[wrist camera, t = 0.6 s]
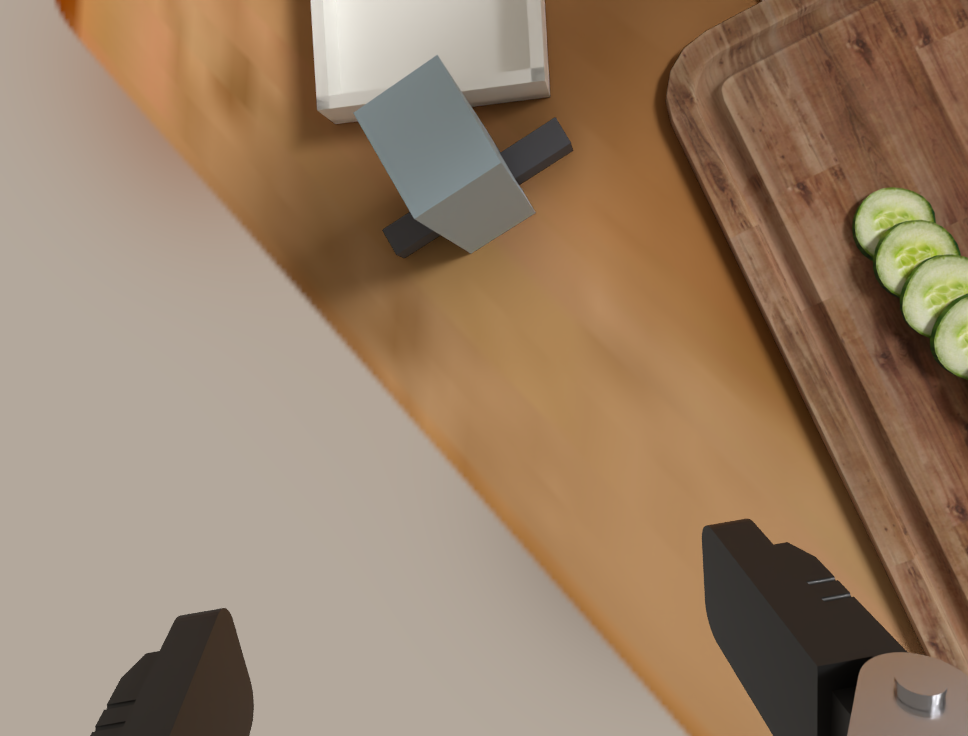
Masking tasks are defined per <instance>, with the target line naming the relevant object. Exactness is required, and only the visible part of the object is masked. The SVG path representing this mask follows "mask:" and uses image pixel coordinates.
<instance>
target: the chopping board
mask: <svg viewBox="0 0 968 736" xmlns="http://www.w3.org/2000/svg"><path fill="white" fill-rule="evenodd" d="M760 1H761V2H760V3H758V4H756V5H754V6H752V7H750V8H748V9H747V10H745V11H743V12H741V13H739V14H737V15H735V16H733V17H731V18H730V19H728V20H726V21H724V22H722V23H720V24H718V25H716V26H714V27H713V28H711V29H709V30H707V31H705V32H704V33H703V34H701V35H700V36H699V37H697V38H696V39H695V40H694V41H692V42H691V43H690V44H689V45H687V46H686V47H685V48H684V49H683V51H682V52H681V54H680V55H679V57H678V59H677V60H676V62H675V64H674V65H673V67H672V69H671V70H670V75H669V81H668V87H667V93H666V100H665V101H666V106H667V110H668V114H669V118H670V122H671V125H672V128H673V130H674V132H675V134H676V136H677V138H678V140H679V142H680V144H681V146H682V148H683V150H684V153H685V155H686V157H687V159H688V161H689V163H690V165H691V167H692V169H693V171H694V173H695V175H696V177H697V180H698V182H699V184H700V186H701V188H702V190H703V192H704V194H705V196H706V198H707V200H708V202H709V205H710V207H711V209H712V211H713V213H714V215H715V217H716V219H717V221H718V223H719V225H720V227H721V229H722V232H723V234H724V236H725V238H726V240H727V242H728V244H729V246H730V248H731V250H732V252H733V254H734V257H735V259H736V261H737V263H738V265H739V267H740V269H741V271H742V273H743V275H744V277H745V279H746V282H747V284H748V286H749V288H750V290H751V292H752V294H753V296H754V298H755V300H756V302H757V304H758V306H759V309H760V311H761V313H762V315H763V317H764V319H765V321H766V323H767V325H768V327H769V329H770V331H771V334H772V336H773V338H774V340H775V342H776V344H777V346H778V348H779V350H780V352H781V354H782V356H783V359H784V361H785V363H786V365H787V367H788V369H789V371H790V373H791V375H792V377H793V379H794V381H795V383H796V386H797V388H798V390H799V392H800V394H801V396H802V398H803V400H804V402H805V404H806V406H807V408H808V411H809V413H810V415H811V417H812V419H813V421H814V423H815V425H816V427H817V429H818V431H819V433H820V435H821V438H822V440H823V442H824V444H825V446H826V448H827V450H828V452H829V454H830V456H831V458H832V460H833V463H834V465H835V467H836V469H837V471H838V473H839V475H840V477H841V479H842V481H843V483H844V485H845V488H846V490H847V492H848V494H849V496H850V498H851V500H852V502H853V504H854V506H855V508H856V510H857V512H858V515H859V517H860V519H861V521H862V523H863V525H864V527H865V529H866V531H867V533H868V535H869V537H870V540H871V542H872V544H873V546H874V548H875V550H876V552H877V554H878V556H879V558H880V560H881V562H882V565H883V567H884V569H885V571H886V573H887V575H888V577H889V579H890V581H891V583H892V585H893V587H894V589H895V592H896V594H897V596H898V598H899V600H900V602H901V604H902V606H903V608H904V610H905V612H906V614H907V617H908V619H909V621H910V623H911V625H912V627H913V629H914V631H915V633H916V635H917V637H918V639H919V641H920V644H921V646H922V648H923V650H924V652H925V654H926V656H929V657H933V658H935V659H938V660H941V661H943V662H945V663H948V664H950V665H952V666H954V667H955V668H957V669H958V670H960V671H962V672H963V673H964V674H966V675H967V676H968V0H760Z"/></svg>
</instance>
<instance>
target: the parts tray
mask: <svg viewBox="0 0 968 736" xmlns="http://www.w3.org/2000/svg"><path fill="white" fill-rule="evenodd" d="M311 15H312V32H313V49H314V65H315V82H316V99H317V111H319V112H320V113H321V114H323V115H324V116H325V117H327V118H328V119H329V120H330V121H332V122H333V123H334V124H341V123H349V122H356V121H358V120H357V119H356V117H355V115H354V114H353V113H354V112H355V111H357V110H358V109H359V108H361V107H362V106H364V105H365V104H367V103H368V102H370V101H371V100H372V99H374V98H375V97H377V96H378V95H380V94H381V93H383V92H384V91H385V90H387V89H388V88H390V87H391V86H393V85H394V84H396V83H397V82H399V81H400V80H401V79H403V78H404V77H406V76H407V75H409V74H410V73H412V72H413V71H414V70H416V69H417V68H419V67H420V66H422V65H423V64H425V63H426V62H427V61H429V60H430V59H432V58H433V57H435V56H436V55H438V56H439V58H440V59H441V61H442V62H443V64H444V66H445V67H446V69H447V70H448V72H449V73H450V75H451V76H452V78H453V79H454V81H455V82H456V84H457V85H458V87H459V88H460V90H461V92H462V93H463V95H464V96H465V98H466V99H467V101H468V102H469V104H470V105H471V107H475V106H483V105H491V104H499V103H507V102H515V101H523V100H530V99H538V98H546V97H550V83H549V65H548V48H547V30H546V12H545V0H311Z"/></svg>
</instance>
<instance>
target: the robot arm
mask: <svg viewBox="0 0 968 736" xmlns="http://www.w3.org/2000/svg"><path fill="white" fill-rule="evenodd" d="M702 550H703V569H704V588H705V605H706V612H707V617H708V621H709V624H710V627H711V630H712V633H713V636H714V638H715V640H716V642H717V644H718V645H719V647H720V649H721V650H722V652H723V654H724V655H725V657H726V658H727V660H728V662H729V663H730V665H731V667H732V668H733V670H734V672H735V673H736V675H737V677H738V678H739V680H740V682H741V683H742V685H743V687H744V688H745V690H746V691H747V693H748V695H749V696H750V698H751V700H752V701H753V703H754V705H755V706H756V708H757V710H758V711H759V713H760V715H761V716H762V718H763V720H764V721H765V723H766V724H767V726H768V728H769V729H770V731H771V733H772V734H773V736H968V676H967V675H966V674H964V673H963V672H962V671H960V670H958V669H957V668H955V667H954V666H952V665H950V664H948V663H945V662H943V661H941V660H938V659H935V658H933V657H929V656H925V655H921V654H915V653H908V652H907V651H906V650H905V649H904V648H903V647H902V646H901V645H900V644H899V643H898V642H897V641H896V640H895V639H894V638H893V637H892V636H891V635H890V634H889V633H888V632H887V631H886V630H885V629H884V627H883V626H882V625H881V624H880V623H879V622H878V621H877V620H876V619H875V618H874V617H873V616H872V615H871V614H870V613H869V612H868V611H867V610H866V609H865V608H864V607H863V606H862V605H861V604H860V603H859V602H858V601H857V599H856V598H855V597H851V596H850V592H849V591H848V590H847V589H846V588H845V587H844V586H843V585H842V584H841V583H840V582H839V581H838V580H837V581H836V580H835V578H834V576H833V575H832V574H831V573H830V571H829V570H828V569H827V568H826V567H825V566H824V565H823V564H822V563H821V562H820V561H819V560H818V559H817V558H816V557H815V556H813V555H811V554H809V553H807V552H805V551H803V550H801V549H799V548H797V547H795V546H793V545H792V544H790V543H788V542H786V543H780V544H775V545H773V544H772V543H771V541H770V540H769V539H768V538H767V537H766V536H765V535H764V534H763V532H762V531H761V530H760V529H759V528H758V527H757V526H756V525H755V523H754V522H753V521H752V520H750V519H742V520H736V521H730V522H724V523H719V524H713V525H707V526H705V527H704V528H703V532H702ZM253 710H254V704H253V691H252V686H251V682H250V678H249V674H248V671H247V667H246V664H245V660H244V657H243V653H242V650H241V647H240V643H239V640H238V636H237V633H236V629H235V626H234V622H233V619H232V616H231V614H230V612H229V611H228V610H227V609H226V608H222V609H216V610H211V611H204V612H199V613H193V614H187V615H182V616H179V617H177V618H176V620H175V621H174V623H173V625H172V627H171V629H170V631H169V633H168V636H167V637H166V639H165V641H164V643H163V645H162V648H161V650H160V651H158V652H152V653H147V654H145V655H144V656H143V657H142V658H141V659H140V660H139V661H138V662H137V663H136V664H135V665H134V666H133V667H132V668H131V669H130V670H129V671H128V672H127V673H126V674H125V675H124V676H123V677H122V678H121V679H120V681H119V683H118V685H117V687H116V689H115V691H114V692H113V694H112V696H111V698H110V700H109V702H108V704H107V710H104V711H103V713H102V715H101V717H100V719H99V721H98V722H97V724H96V726H95V727H96V731H95V732H92V734H91V735H90V736H249V734H250V730H251V726H252V721H253Z"/></svg>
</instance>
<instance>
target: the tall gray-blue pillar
mask: <svg viewBox="0 0 968 736" xmlns="http://www.w3.org/2000/svg"><path fill="white" fill-rule="evenodd" d="M353 114H354V115H355V117H356V119H357V120H358V122H359V124H360V126H361V127H362V129H363V131H364V133H365V134H366V136H367V138H368V140H369V141H370V143H371V145H372V147H373V148H374V150H375V152H376V153H377V155H378V157H379V159H380V160H381V162H382V164H383V166H384V167H385V169H386V171H387V173H388V174H389V176H390V178H391V180H392V181H393V183H394V185H395V186H396V188H397V190H398V192H399V193H400V195H401V197H402V199H403V200H404V202H405V204H406V206H407V207H408V209H409V211H410V213H411V214H412V216H413V218H414V219H415V220H417V221H418V222H420V223H422V224H423V225H425V226H427V227H428V228H430V229H431V230H433V231H435V232H436V233H438V234H440V235H441V236H443V237H445V238H446V239H448V240H450V241H451V242H453V243H454V244H456V245H458V246H459V247H461V248H463V249H464V250H466V251H468V252H469V253H473V252H474V251H476V250H477V249H479V248H481V247H482V246H484V245H485V244H487V243H489V242H490V241H492V240H493V239H495V238H496V237H498V236H500V235H501V234H503V233H504V232H506V231H508V230H509V229H511V228H512V227H514V226H516V225H517V224H519V223H520V222H522V221H524V220H525V219H527V218H528V217H530V216H532V215H533V214H535V213H536V212H535V211H534V209H533V207H532V206H531V204H530V202H529V201H528V199H527V197H526V195H525V194H524V192H523V190H522V189H521V188H520V186H519V185H518V183H517V182H516V180H515V178H514V177H513V175H512V173H511V172H510V170H509V168H508V166H507V165H506V163H505V161H504V160H503V158H502V156H501V155H500V151H499V150H498V148H497V146H496V145H495V143H494V141H493V140H492V138H491V136H490V135H489V133H488V131H487V130H486V128H485V127H484V125H483V124H482V122H481V121H480V119H479V118H478V116H477V115H476V113H475V111H474V110H473V108H472V107H471V105H470V104H469V102H468V101H467V99H466V98H465V96H464V95H463V93H462V92H461V90H460V88H459V87H458V85H457V84H456V82H455V81H454V79H453V78H452V76H451V75H450V73H449V72H448V70H447V69H446V67H445V66H444V64H443V62H442V61H441V59H440V58H439V56H438V55H436V56H435V57H433V58H432V59H430V60H429V61H427V62H426V63H425V64H423V65H422V66H420V67H419V68H417V69H416V70H414V71H413V72H412V73H410V74H409V75H407V76H406V77H404V78H403V79H401V80H400V81H399V82H397V83H396V84H394V85H393V86H391V87H390V88H388V89H387V90H385V91H384V92H383V93H381V94H380V95H378V96H377V97H375V98H374V99H372V100H371V101H370V102H368V103H367V104H365V105H364V106H362V107H361V108H359V109H358V110H357V111H355V112H354V113H353Z"/></svg>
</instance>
